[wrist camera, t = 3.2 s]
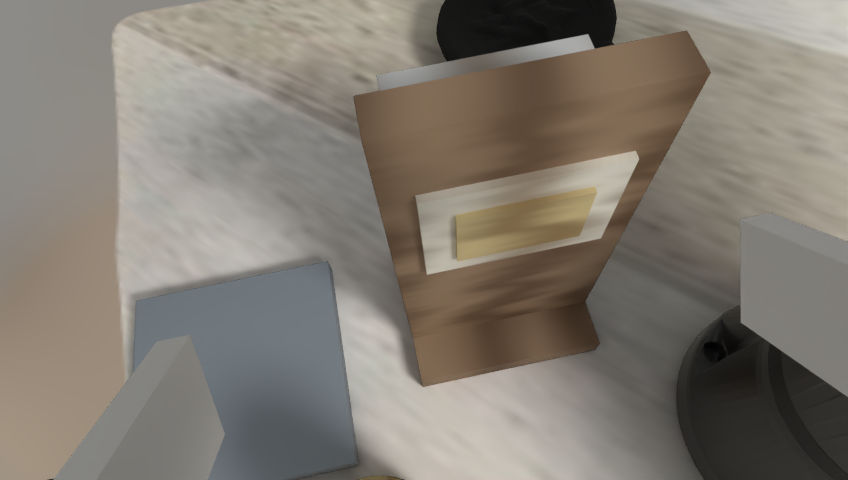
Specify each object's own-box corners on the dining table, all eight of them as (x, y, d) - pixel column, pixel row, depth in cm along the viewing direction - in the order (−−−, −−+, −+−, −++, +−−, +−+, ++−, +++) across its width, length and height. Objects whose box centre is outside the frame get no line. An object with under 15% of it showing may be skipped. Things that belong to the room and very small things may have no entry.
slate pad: (331, 269, 43) (327, 261, 41) (358, 465, 36) (354, 462, 35) (146, 308, 42) (135, 300, 41) (140, 513, 36) (128, 512, 35)
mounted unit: (551, 223, 43) (635, -59, 22) (595, 349, 39) (751, 142, 18) (397, 256, 43) (335, -3, 22) (423, 386, 38) (376, 219, 17)
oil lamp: (518, 189, 45) (525, 152, 41) (409, 34, 53) (405, -11, 49) (673, 115, 47) (694, 72, 43) (545, -23, 56) (552, -70, 51)
